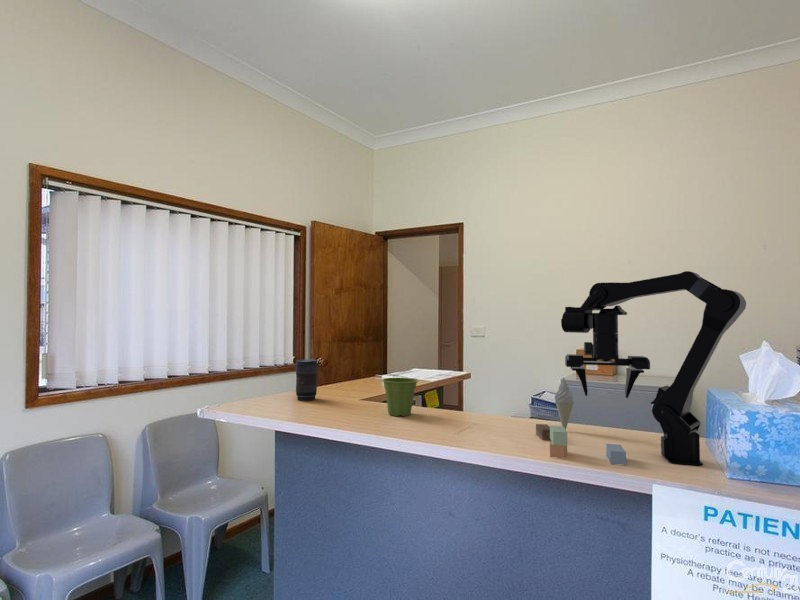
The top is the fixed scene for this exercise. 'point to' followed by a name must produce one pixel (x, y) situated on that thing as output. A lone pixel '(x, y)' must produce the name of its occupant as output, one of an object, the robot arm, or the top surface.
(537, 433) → the walnut brick
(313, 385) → the camera lens
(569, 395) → the ice cream cone
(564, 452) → the terracotta brick
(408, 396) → the plant pot
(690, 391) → the robot arm
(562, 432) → the green brick
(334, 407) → the top surface
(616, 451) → the slate brick
